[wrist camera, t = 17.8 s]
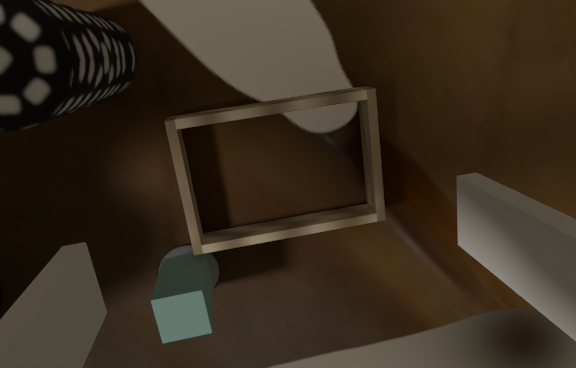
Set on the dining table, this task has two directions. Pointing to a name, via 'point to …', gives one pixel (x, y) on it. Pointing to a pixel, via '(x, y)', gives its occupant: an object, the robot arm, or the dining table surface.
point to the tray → (293, 224)
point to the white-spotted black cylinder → (58, 61)
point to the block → (183, 297)
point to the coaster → (188, 249)
